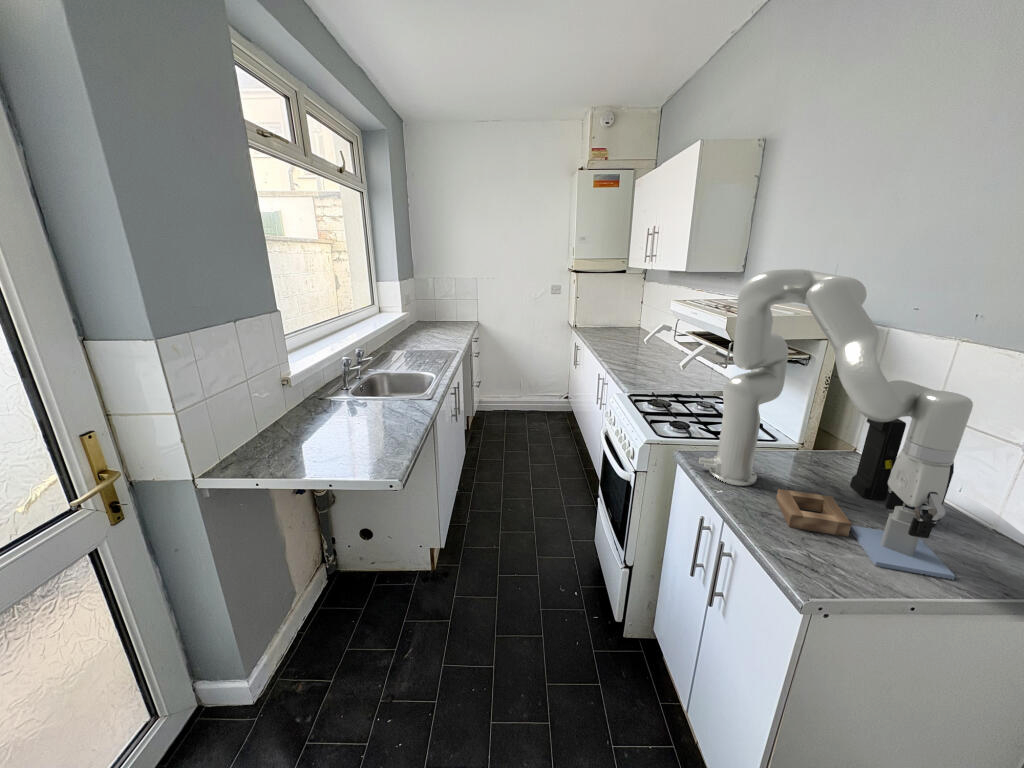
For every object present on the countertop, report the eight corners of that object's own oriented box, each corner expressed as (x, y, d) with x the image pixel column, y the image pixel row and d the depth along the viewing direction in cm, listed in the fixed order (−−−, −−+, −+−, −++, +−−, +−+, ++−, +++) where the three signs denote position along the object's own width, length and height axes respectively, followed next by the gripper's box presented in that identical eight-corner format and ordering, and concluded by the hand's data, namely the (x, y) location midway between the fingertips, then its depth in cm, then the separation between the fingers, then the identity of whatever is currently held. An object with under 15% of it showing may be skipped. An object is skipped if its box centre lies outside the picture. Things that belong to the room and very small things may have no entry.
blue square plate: (875, 565, 87) (876, 561, 87) (849, 528, 99) (850, 525, 98) (953, 580, 83) (955, 575, 83) (916, 539, 95) (918, 536, 94)
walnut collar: (788, 526, 100) (791, 514, 99) (775, 500, 111) (778, 488, 109) (847, 536, 96) (851, 523, 95) (828, 508, 107) (831, 496, 106)
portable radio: (891, 503, 108) (918, 415, 101) (865, 501, 110) (889, 414, 102) (873, 487, 116) (896, 404, 108) (848, 485, 117) (870, 403, 110)
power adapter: (881, 539, 93) (895, 492, 90) (914, 550, 90) (930, 502, 86) (880, 545, 91) (894, 498, 88) (913, 557, 88) (929, 509, 84)
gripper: (884, 431, 92) (865, 497, 98) (930, 468, 77) (905, 544, 82) (926, 436, 90) (904, 503, 95) (982, 474, 75) (953, 552, 80)
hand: (904, 522), depth 89 cm, fingers open, 9 cm apart
